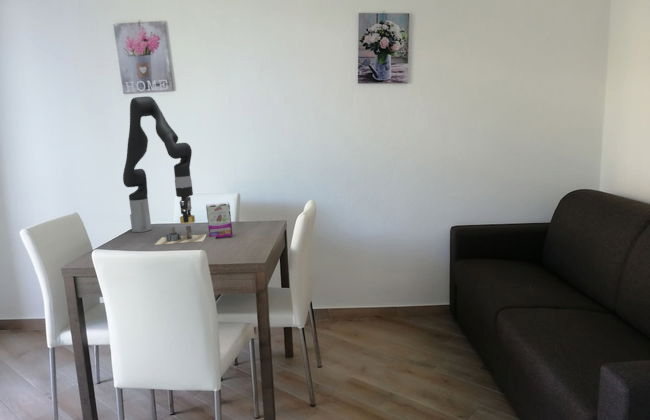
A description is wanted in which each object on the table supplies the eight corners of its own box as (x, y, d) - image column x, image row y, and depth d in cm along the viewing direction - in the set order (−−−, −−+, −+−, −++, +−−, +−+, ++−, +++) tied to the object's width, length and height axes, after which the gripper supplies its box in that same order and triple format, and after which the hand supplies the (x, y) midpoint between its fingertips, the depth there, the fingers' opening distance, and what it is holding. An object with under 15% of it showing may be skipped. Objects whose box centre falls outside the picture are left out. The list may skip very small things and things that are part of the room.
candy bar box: (232, 234, 233) (229, 202, 229) (232, 236, 228) (229, 203, 225) (209, 237, 230) (205, 204, 227) (209, 239, 225) (206, 205, 222)
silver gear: (165, 241, 219) (164, 235, 218) (168, 238, 225) (167, 232, 225) (179, 240, 220) (178, 234, 219) (181, 237, 226) (181, 231, 225)
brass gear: (179, 224, 218) (178, 218, 218) (182, 221, 224) (181, 215, 224) (193, 223, 219) (192, 216, 218) (195, 220, 225) (195, 214, 225)
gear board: (154, 247, 215) (152, 232, 214) (161, 239, 229) (160, 225, 227) (203, 243, 217) (201, 228, 216) (207, 236, 231) (205, 222, 230)
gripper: (178, 184, 225) (182, 218, 228) (172, 188, 211) (176, 224, 214) (194, 183, 226) (198, 217, 229) (189, 187, 212) (193, 223, 215)
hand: (187, 220), depth 221 cm, fingers closed on brass gear, 6 cm apart
